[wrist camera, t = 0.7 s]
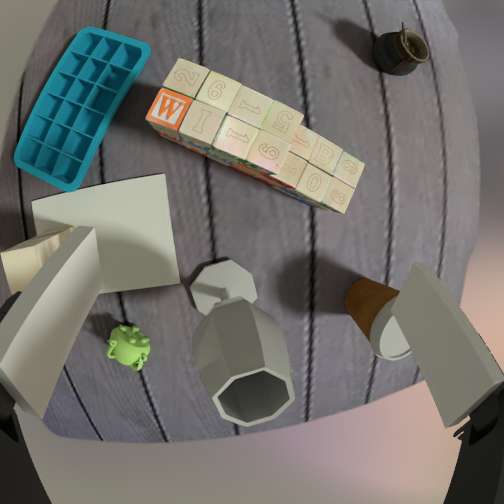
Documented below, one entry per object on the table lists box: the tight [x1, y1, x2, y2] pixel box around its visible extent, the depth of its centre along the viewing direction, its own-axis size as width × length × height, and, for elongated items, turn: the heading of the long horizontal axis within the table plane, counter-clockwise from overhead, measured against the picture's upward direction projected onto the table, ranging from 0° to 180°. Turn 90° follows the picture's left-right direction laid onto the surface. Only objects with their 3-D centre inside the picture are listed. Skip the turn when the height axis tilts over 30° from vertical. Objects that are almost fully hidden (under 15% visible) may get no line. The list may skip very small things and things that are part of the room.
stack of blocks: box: [145, 58, 365, 214], centre depth 29 cm, size 21×6×12 cm, turn 65°
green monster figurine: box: [106, 325, 150, 370], centre depth 35 cm, size 6×5×6 cm
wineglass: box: [190, 259, 295, 427], centre depth 28 cm, size 9×9×21 cm
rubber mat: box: [31, 174, 180, 294], centre depth 33 cm, size 14×20×1 cm
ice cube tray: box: [14, 26, 151, 193], centre depth 27 cm, size 12×20×3 cm, turn 152°
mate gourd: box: [373, 22, 429, 76], centre depth 29 cm, size 7×8×10 cm
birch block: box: [1, 226, 75, 295], centre depth 27 cm, size 5×5×11 cm
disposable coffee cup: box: [344, 279, 412, 360], centre depth 37 cm, size 10×10×12 cm
